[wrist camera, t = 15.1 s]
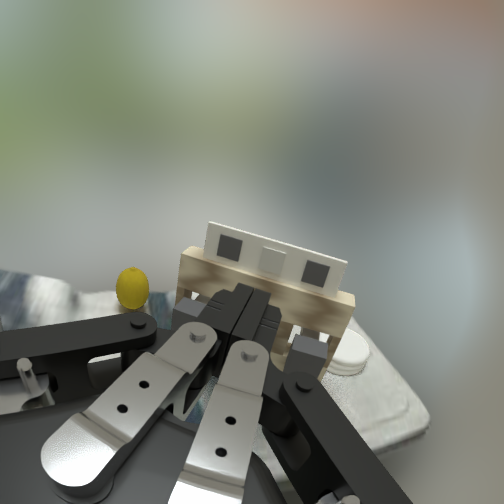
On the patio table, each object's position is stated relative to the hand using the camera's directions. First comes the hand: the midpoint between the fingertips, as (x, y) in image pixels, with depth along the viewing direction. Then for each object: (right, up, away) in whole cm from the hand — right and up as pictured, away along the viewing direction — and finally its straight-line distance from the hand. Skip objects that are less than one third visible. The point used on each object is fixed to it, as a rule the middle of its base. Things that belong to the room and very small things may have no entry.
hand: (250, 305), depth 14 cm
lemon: (-20, -7, +36) cm, 42 cm away
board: (-1, -14, +30) cm, 34 cm away
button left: (-7, -7, +27) cm, 29 cm away
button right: (+7, -11, +25) cm, 28 cm away
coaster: (+14, -16, +37) cm, 42 cm away
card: (+2, -1, +22) cm, 22 cm away
